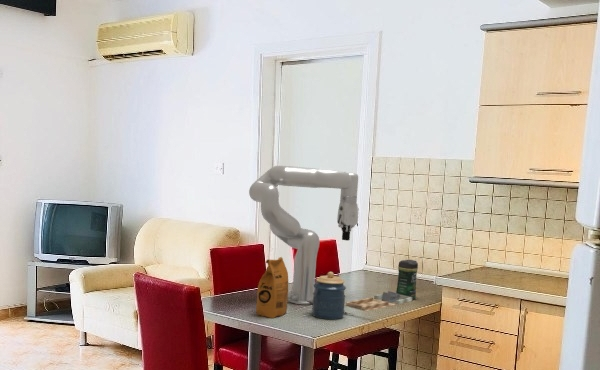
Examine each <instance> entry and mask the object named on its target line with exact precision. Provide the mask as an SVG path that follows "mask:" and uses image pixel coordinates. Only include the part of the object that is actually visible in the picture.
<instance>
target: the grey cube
mask: <svg viewBox="0 0 600 370" xmlns="http://www.w3.org/2000/svg"><path fill="white" fill-rule="evenodd" d="M387 293H390V294H393V295H395V300H394V302H396V300H400V298H399V297H400V294H398V293H396V292H393V291H389V290H388V291H387Z"/></svg>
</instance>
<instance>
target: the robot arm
mask: <svg viewBox="0 0 600 370" xmlns="http://www.w3.org/2000/svg"><path fill="white" fill-rule="evenodd" d="M278 186H283V187H297V188H311V189H313V188H314V189H316V188H318V189H321V188H324V189H340V199H339V206H338V209H337V210H338V211H337V217H336V218H337V219H336V220H337V221H336V222H337V224H338V228H340V229H341V231H342V234H341V239H342V241H350V238H351V232H352V229H353V228H355V227H356V225H358V224H359V223H358V221H359V207H358V202H357V201H358V187H359V175H358V174H357V173H355V172H354V173H353V172H346V171H339V170H338V171H336V170H325V169H319V168H313V167H303V166H302V167H301V166H291V165H274V166H272V167H270V168H269V169H268V170H266V172H264V173H263V174H262V175H261V176H260V177H258V179H256V180H255V181H254V182H253V183H252V184H251V186H250V188H249V189H248V195H249V197H250V199H251V200H252V201H253V202H257V203H260V211H261V215H262V217H263V219H264V220H265V221H266V222H267V223H268V224H269V228H270V231H271V232H272V234H273V235H275V237H277V238H278V239H279V240H281V241H282V242H283V243H285V244H286V245H287V246H289V247H291V248H293V249H296V253H295V256H294V261H293V276H292V290H291V291H290V293H288V299H287V302H289V303H292V304H295V305H303V306H304V305H305V306H306V305H308V306H309V305H313V293H314V291H315V287H314V284H315V283H316V282H315V281H316V269H317V257H318V252H319V248H320V242H321V241H320V237H319V235H318V233H316V232H315V231H313V230H312V229H307V228H303V227H302V226H301V224H300V222H299V221H298V220H297V218H295V217H294V216H292V215H291V214H290V213H289V212H287V211H286V210H285V209H284V208H283V207H281V205H280V201H279V197H280V193H279V192H280V191H279V189H278V188H277V187H278Z"/></svg>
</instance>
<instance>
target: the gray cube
mask: <svg viewBox="0 0 600 370" xmlns="http://www.w3.org/2000/svg"><path fill="white" fill-rule="evenodd" d="M382 294H383V296H382V298H381V301H384V302H385V301H388V302H389V303H394V302H395V301H394V300H395V295H393V294H390V293H388V292H384V291H383V293H382Z"/></svg>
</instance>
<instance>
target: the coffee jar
mask: <svg viewBox="0 0 600 370" xmlns="http://www.w3.org/2000/svg"><path fill="white" fill-rule="evenodd" d="M418 264H419V262H418V261H417V260H413V259H405V260H404V259H403V260H400V261H399V262H398V268H397V269H398V274H397V275H398V276H397V285H396V291H395V293H398V294H400V295H404V296H408V297H413V300H415V299H416V298H417V297H416V295H417V291H416V290H417V273H418V269H419V265H418Z"/></svg>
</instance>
